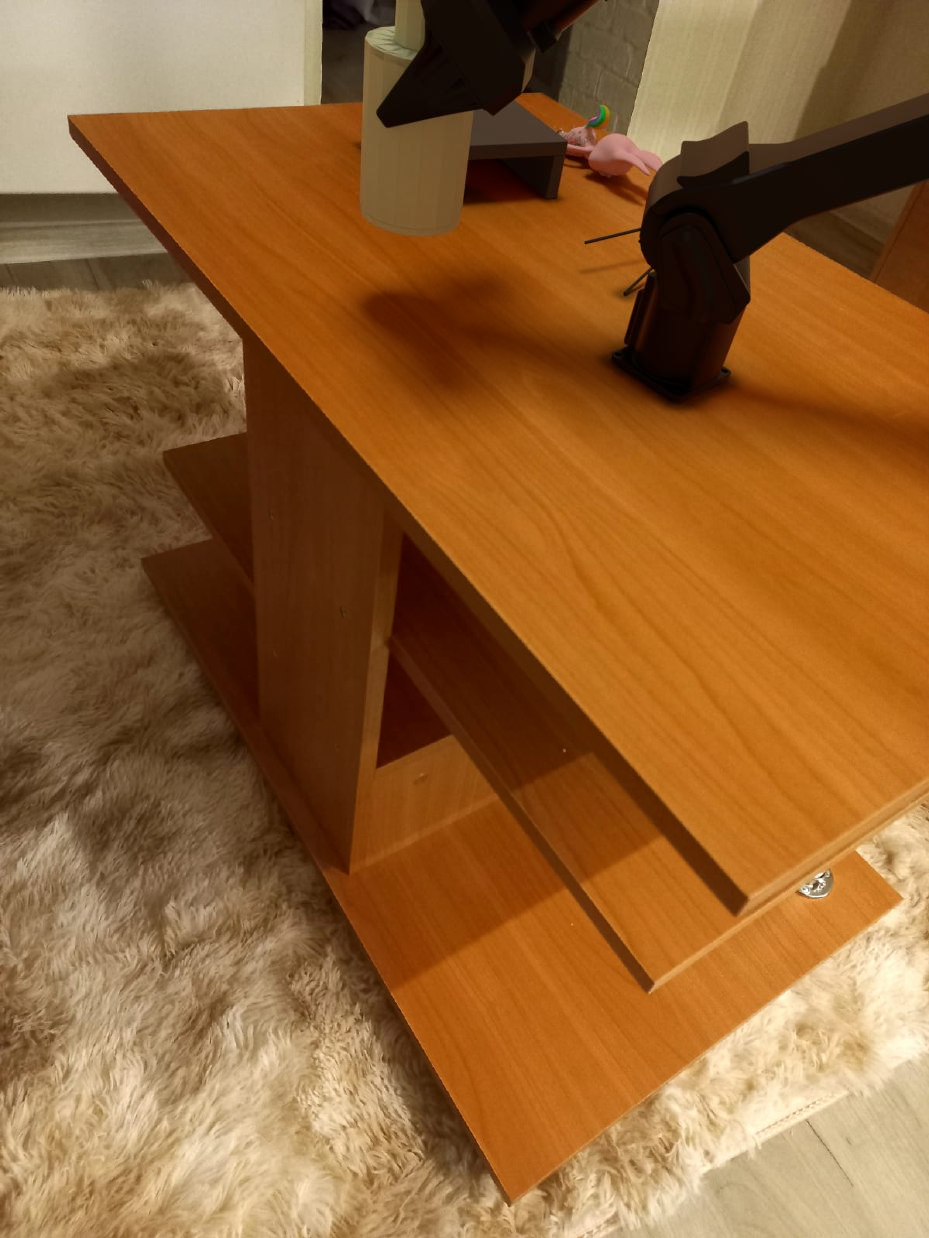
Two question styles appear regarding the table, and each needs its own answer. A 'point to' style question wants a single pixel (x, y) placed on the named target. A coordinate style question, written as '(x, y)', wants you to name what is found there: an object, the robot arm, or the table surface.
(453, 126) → the bottle
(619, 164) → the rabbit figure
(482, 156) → the shelf
